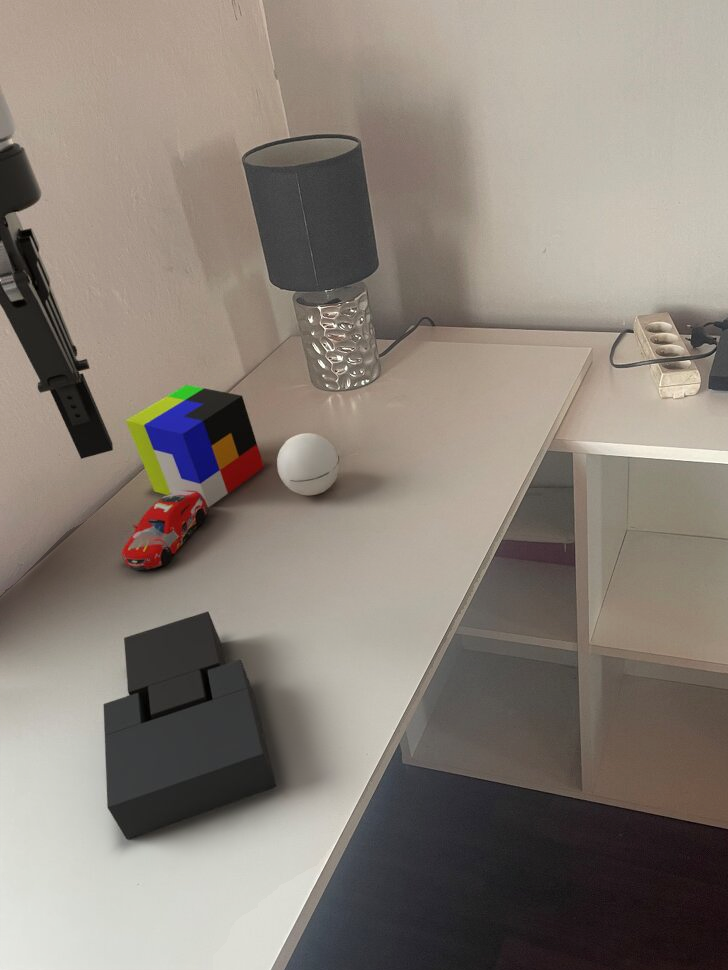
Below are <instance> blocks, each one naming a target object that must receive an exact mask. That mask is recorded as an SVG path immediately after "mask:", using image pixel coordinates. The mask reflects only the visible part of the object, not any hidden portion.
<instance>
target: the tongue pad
mask: <svg viewBox="0 0 728 970" xmlns="http://www.w3.org/2000/svg"><path fill="white" fill-rule="evenodd" d="M123 642H124V656H125V657H124V658H125V669H126V683H127V693H128V696H129V695H132V694H136V693H139V695H140V697H141V699H142V701H143V703H144V705H145V707H146V709H147V711H148V713H149V715H150V717H151V719H152V720H154V719H157V718H160V717H163V716H166V715H169V714H172V713H175V712H178V711H181V710H184V709H187V708H190V707H193V706H196V705H199V704H202V703H205V702H208V701H211V700H213V698H212V692H211V687H210V682H209V676H208V670H210V669H213V668H216V667H219V666H222V665H225V664H226V660H225V655H224V651H223V646H222V641H221V638H220V637H219V634H218V632H217V629H216V627H215V624H214V621H213V620H212V616H211V614H210V612H209V611H205V612H201V613H198V614H195V615H192V616H189V617H186V618H182V619H178V620H176V621H173V622H170V623H169V622H168V623H166V624H163V625H160V626H157V627H153V628H150V629H148V630H144V631H141V632H137V633H134V634H131V635H128V636H125V637H123Z"/></svg>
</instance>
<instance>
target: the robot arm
mask: <svg viewBox="0 0 728 970" xmlns="http://www.w3.org/2000/svg"><path fill="white" fill-rule="evenodd" d="M17 132H18V127H17V124H16V123H15V119H14V117H13V115H12V112H11V110H10V107H9V104H8V103H7V99H6V97H5V95H4V93H3V90H2V87H1V86H0V307H1V308H2V310H3V312H4V314H5V316H6V317H7V319H8V321H9V324H10V326H11V327H12V329H13V331H14V333H15V335H16V337H17V339H18V340H19V343H20V344H21V347H22V348H23V350H24V352H25V354H26V356H27V358H28V360H29V362H30V364H31V366H32V368H33V369H34V372H35V374H36V376H37V377H38V379H39V382H37V390H38V392H39V393H41V394H42V393H45V392H50V394H51V396H52V399H53V400H54V403H55V406H56V407H57V410H58V412H59V414H60V416H61V419H62V420H63V422H64V424H65V427H66V429H67V431H68V433H69V435H70V438H71V440H72V442H73V445H74V446H75V448H76V451H77V453H78V455H79V457H80V459H81V460H82V459H86V458H90V457H93V456H97V455H101V454H104V453H107V452H112V451H114V445H113V441H112V439H111V436H110V434H109V430H108V429H107V427H106V424H105V421H104V420H103V418H102V415H101V413H100V410H99V408H98V405H97V403H96V401H95V399H94V396H93V394H92V392H91V389H90V387H89V384H88V383H87V380H86V377H85V375H84V373H83V372H82V373H80V372H81V371H86V370H89V369H90V364H89V361H88V359H87V358H84V359H81V360H78V359H77V357H78V348H77V347H76V345H75V344H74V343H73V340H72V337H71V334H70V332H69V329H68V327H67V324H66V322H65V319H64V317H63V314H62V311H61V309H60V306H59V304H58V301H57V299H56V296H55V293H54V291H53V289H52V286H51V279H50V276H49V274H48V271H47V269H46V266H45V263H44V262H43V260H42V257H41V254H40V244H39V241H38V239H37V236H36V234H35V231H34V230H33V228H26V229H24V228H23V225H22V221H20V218H19V216H18V214H17V213H19V212H21V211H24V210H27V209H29V208H31V207H32V206H34V205H36V204H37V203H38V202H39V201H40V199H41V197H42V189H41V187H40V184H39V181H38V180H37V177H36V174H35V172H34V170H33V167H32V164H31V162H30V160H29V157H28V155H27V152H26V150H25V149H26V148H24V147H23V146H21V145H20V144H19V143H16V142H14V141H13V138H14V137H15V136H16V134H17Z"/></svg>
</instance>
